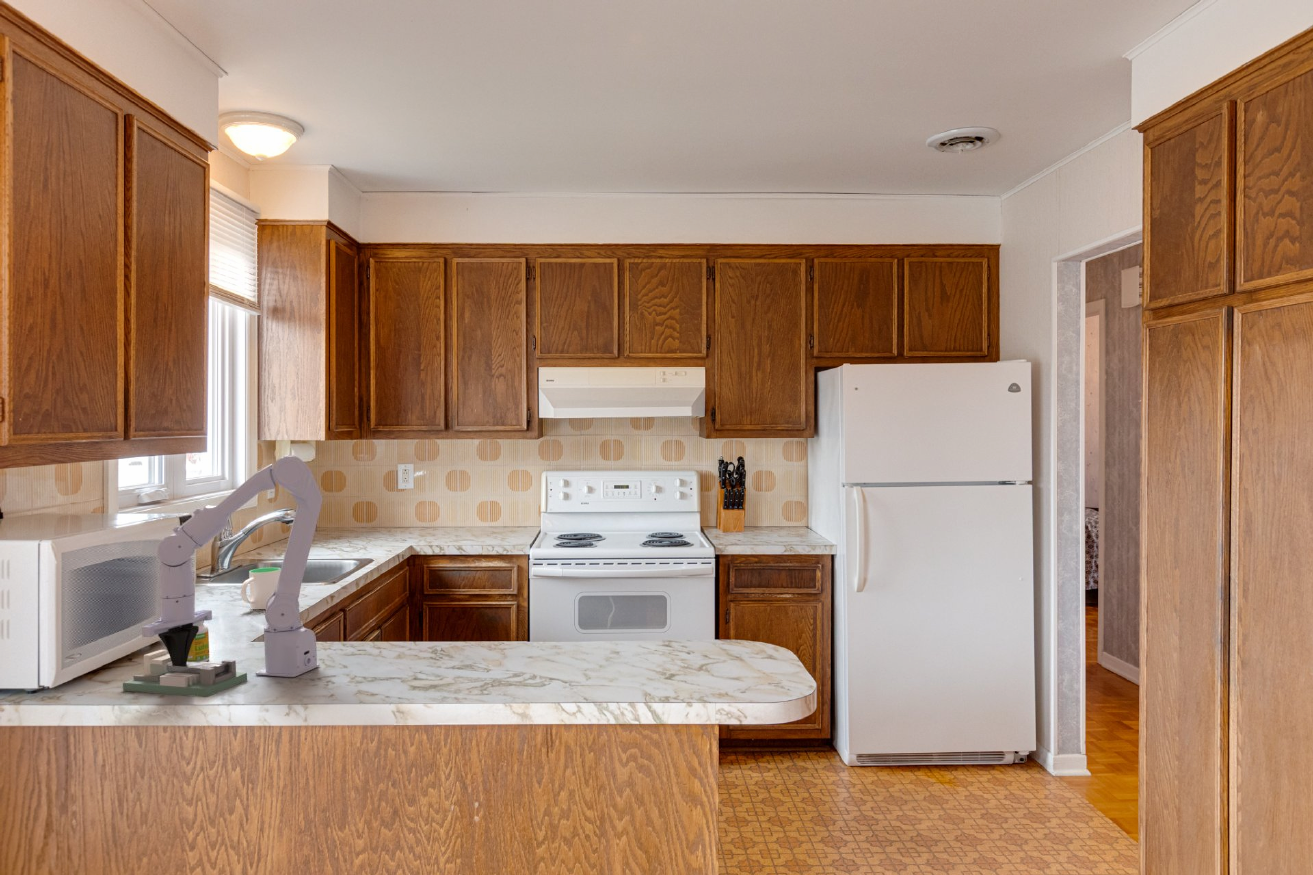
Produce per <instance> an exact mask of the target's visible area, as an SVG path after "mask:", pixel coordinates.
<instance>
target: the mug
mask: <svg viewBox="0 0 1313 875" xmlns="http://www.w3.org/2000/svg"><path fill="white" fill-rule="evenodd" d="M280 571H281V567H261V568H255V569H251V570H249V571H248V573H249V574H248V577H249V578H248V579H246V580H244V581H243V583H242V585H241V590H240V594H241V600H242V601H243V602H244V603H246V604H249V605H250V606H249V607H250V609H251V608H252V609H251V610H253V609H265V610H266V604H267V601H268V599H269V598H270V597H271V596H272V595H273V593H274V592H275V589H276V585H277V582H278V579H279V575H280ZM248 586H249V598H250V599H248V596H247V587H248Z"/></svg>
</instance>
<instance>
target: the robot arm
mask: <svg viewBox="0 0 1313 875" xmlns="http://www.w3.org/2000/svg"><path fill="white" fill-rule="evenodd" d="M276 484H278V485H279V486H280V487H282V488H283V489H285V490H286V491H287V492H288V493H289V494H290V495H291V497H292V499H293V500H295V502H296V503H297V504H296V505H297V506H296V510H295V514H294V517H293V522H292V525H291V528H290V529H291V530H290V534H289V537H288V540H287V544H286V548H285V553H284V557H283V560H282V564H281V567H280V568H281V571H280V575H279V579H278V582H277V585H276V589H275V592H274V593H273V595H272V596H271V597H270V598H269V599H268V601H267V604H266V609H265V613H264V618H265V622H266V625H264V627H263V640H264V642H263V643H264V661H265V662H264V664H265V665H264V666H265V668H262V669H260V670H258V671H255V673H254V674H255V675H259V676H269V677H270V676H271V677H273V676H274V677H284V678H295V677H297V676H300V675H302V674H305V673H307V672H310V671H311V670H314V669H316V668H318V667H320V666H321V665H320V663H318V658H317V657H318V654H317V638H316V634H315V632H314V630H312V629H311V628H306V627H304V625H303V621H302V620H300V615H301V614H300V612H301V610H300V602H299V599H300V594H301V589H302V583H303V578H304V574H305V571H306V569H307V568H306V567H307V564H308V559H309V555H310V552H311V548H312V544H313V540H314V536H315V532H316V528H317V523H318V520H319V516H320V512H321V507H322V503H323V495H322V493H321V491H320V488H319V487H318V483H317V481H316V479H315V477H314V475H313V472H312V470H311V469H310V467H309V466H308V465H307V464H306V463H305V462H304V461H303V460H302V459H301V458H300V457H298V456H296V455H292V454H291V455H290V454H288V455H287V454H286V455H283V456H281V457H279V458H278V459H277V460H276V461H275V462H274V464H273V463H271V464H269V465H266V466H265V467H263V468H262V469H260V470H259V471H257V472H255V473H254V474H253V475H251V476H250V477H249V478H248V479H247V480H245V481H244V482H243V483H242V484H241V485H240V486H238V487H237V488H236V489H235V490H234V491H232V492H231V493H230V494H228V496H226V497H225V498H224V499H223V500H222V501H221V502H220V503H218V504H217V505H205V506H203V507H202V508H200V507H197V508H196V509H195V510H194V511H193V514H194V515H193V516H191V517H190V518H188V520H186V521H185V522H184V523H182V524H181V525H180V526H175V527H174V528H172V531H173V533H171V534H170V535H168V536H165V537H164V538H163V540H162V541H161V542H160V543H159V545H158V547H157V556H158V558H159V561H160V564H159V569H160V574H159V592H160V593H159V594H160V595H159V596H160V617H159V618H158V620H156V621H154V622H152V623H149V624H145V625H144V626H141V636H142V638H152V637H155V636H156V635H157V636H158V638H159V639H160V640H161V642H162V643H163V644H164V647H166V650H167V653H168V654H169V655H170V658H171V664H173V665H183V664H186V663H187V659H188V655H189V651H190V648H191V645H192V642H193V640H194V638H195V636H196V634H197V633H198V631H199V627H198V626H193V624H195V623H198V622H202V621H204V622H205V621H206V622H207V621H211V620H213V612H212V610H211V609H202V610H198V611H196V610H195V609H196V607H195V581H194V579H195V578H194V575H195V574H194V573H195V572H194V569H193V558H192V556H193V555H194V553H195V550H198V549H202V548H203V547H204V546H205V545H207V544H208V543H209V542H210V541H211V540H213V539H214V538H215V537H217V536H218V535H219V534H220V533H222V531H223V530H225V529H226V528H227V527H228V521H229V520H228V519H229V517H230V516H232V515H233V513H235V512H237V510H239V509H240V508H241V507H243V506H244V505H245V504H247V503H248V502H249V501H250V500H252V499H253V498H255V497H256V496H257V495H258V494H259V493H262V492H265V491H269V490H274V489H276V488H277V485H276Z"/></svg>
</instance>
